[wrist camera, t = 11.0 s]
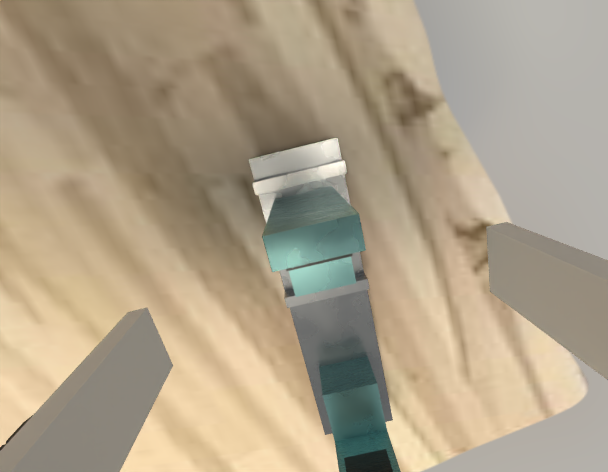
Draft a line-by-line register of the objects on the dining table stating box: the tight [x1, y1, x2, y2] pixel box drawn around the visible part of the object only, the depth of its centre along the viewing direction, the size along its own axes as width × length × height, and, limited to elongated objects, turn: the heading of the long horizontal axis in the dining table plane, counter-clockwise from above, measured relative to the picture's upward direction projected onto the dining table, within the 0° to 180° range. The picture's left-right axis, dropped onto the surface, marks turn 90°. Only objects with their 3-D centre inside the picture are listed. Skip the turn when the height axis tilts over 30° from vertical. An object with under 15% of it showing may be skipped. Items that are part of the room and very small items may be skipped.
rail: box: [248, 138, 401, 472], centre depth 20 cm, size 24×6×11 cm, turn 13°
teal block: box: [262, 186, 366, 297], centre depth 18 cm, size 6×4×9 cm, turn 13°
